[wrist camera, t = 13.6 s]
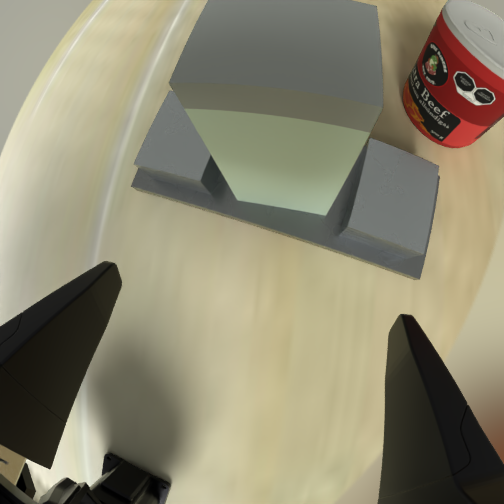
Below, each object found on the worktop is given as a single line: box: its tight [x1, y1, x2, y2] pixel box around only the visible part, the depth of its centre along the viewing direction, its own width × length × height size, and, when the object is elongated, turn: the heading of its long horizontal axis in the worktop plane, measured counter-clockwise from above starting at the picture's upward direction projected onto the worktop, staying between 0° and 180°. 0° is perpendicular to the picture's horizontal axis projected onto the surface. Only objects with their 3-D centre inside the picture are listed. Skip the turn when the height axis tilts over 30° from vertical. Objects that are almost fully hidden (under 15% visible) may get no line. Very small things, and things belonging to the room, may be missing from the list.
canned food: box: [403, 0, 504, 148], centre depth 15 cm, size 8×8×11 cm
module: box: [169, 0, 383, 216], centre depth 14 cm, size 5×6×13 cm
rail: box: [131, 91, 440, 280], centre depth 19 cm, size 8×22×4 cm, turn 71°
